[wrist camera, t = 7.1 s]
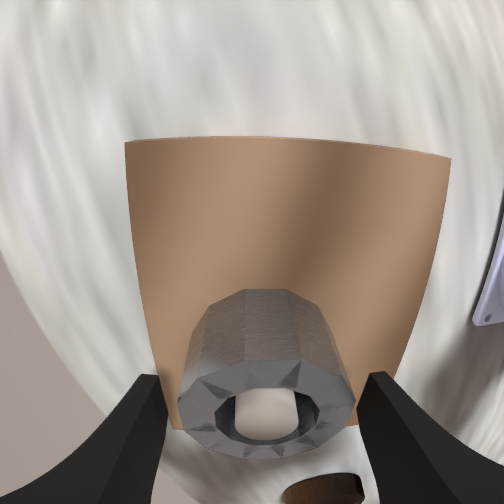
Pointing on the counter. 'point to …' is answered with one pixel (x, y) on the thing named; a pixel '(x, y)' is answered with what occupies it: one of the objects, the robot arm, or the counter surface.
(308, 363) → the hub ring
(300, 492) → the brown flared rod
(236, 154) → the post board
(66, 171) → the counter surface
